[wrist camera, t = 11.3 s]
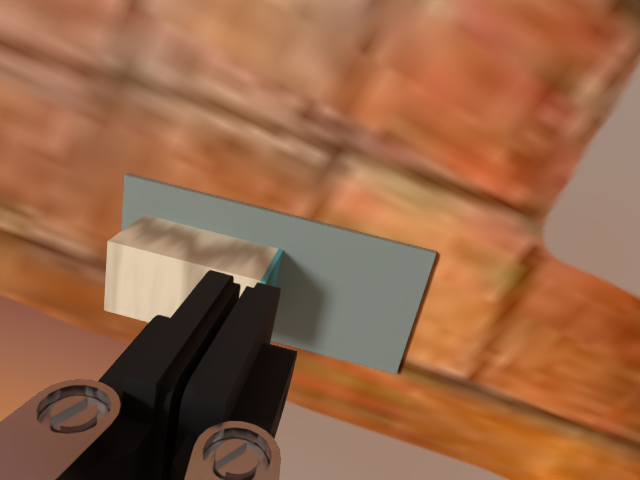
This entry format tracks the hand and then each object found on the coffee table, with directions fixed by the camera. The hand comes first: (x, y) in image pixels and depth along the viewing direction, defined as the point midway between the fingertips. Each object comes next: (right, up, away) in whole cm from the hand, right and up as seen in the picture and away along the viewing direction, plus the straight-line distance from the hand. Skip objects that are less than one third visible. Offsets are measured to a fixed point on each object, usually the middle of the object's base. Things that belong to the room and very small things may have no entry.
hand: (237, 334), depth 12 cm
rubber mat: (-3, -1, +32) cm, 33 cm away
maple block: (-2, -2, +29) cm, 29 cm away
